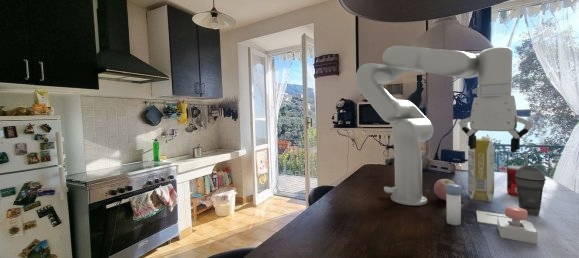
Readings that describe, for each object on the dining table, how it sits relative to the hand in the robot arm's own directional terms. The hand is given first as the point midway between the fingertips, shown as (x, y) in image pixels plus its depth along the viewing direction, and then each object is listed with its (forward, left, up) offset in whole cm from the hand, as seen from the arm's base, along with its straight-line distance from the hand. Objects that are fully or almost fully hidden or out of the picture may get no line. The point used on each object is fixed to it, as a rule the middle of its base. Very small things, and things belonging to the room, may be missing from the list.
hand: (492, 150), depth 74 cm
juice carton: (-1, +26, -22) cm, 34 cm away
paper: (+3, +4, -22) cm, 22 cm away
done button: (+5, -6, -20) cm, 21 cm away
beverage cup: (+11, +15, -22) cm, 29 cm away
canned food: (+12, +38, -22) cm, 45 cm away
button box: (+5, -6, -22) cm, 23 cm away
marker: (-9, -5, -22) cm, 24 cm away
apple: (-12, +17, -22) cm, 31 cm away
